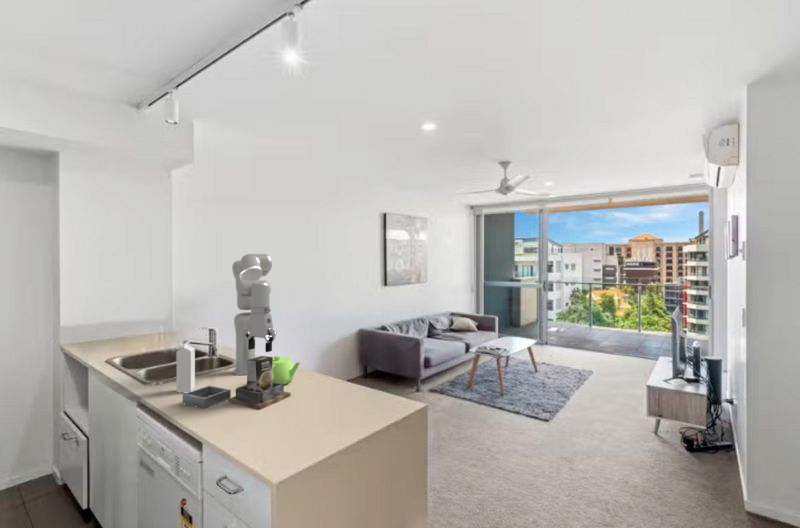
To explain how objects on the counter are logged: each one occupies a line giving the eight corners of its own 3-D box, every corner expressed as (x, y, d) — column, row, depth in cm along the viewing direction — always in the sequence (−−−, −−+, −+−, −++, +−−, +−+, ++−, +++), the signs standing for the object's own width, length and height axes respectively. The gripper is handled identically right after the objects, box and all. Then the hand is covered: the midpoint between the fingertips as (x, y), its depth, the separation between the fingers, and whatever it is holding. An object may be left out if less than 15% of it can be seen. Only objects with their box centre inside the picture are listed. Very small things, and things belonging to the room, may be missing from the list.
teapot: (306, 377, 207) (306, 352, 206) (292, 390, 187) (292, 362, 187) (271, 376, 208) (271, 351, 208) (253, 388, 188) (253, 360, 188)
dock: (259, 390, 186) (260, 378, 186) (290, 395, 178) (290, 383, 178) (228, 402, 170) (228, 389, 170) (260, 409, 162) (260, 395, 162)
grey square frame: (209, 394, 180) (209, 385, 180) (230, 399, 174) (230, 389, 174) (182, 403, 168) (182, 394, 168) (204, 409, 162) (204, 399, 162)
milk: (176, 393, 181) (176, 344, 180) (181, 389, 187) (180, 341, 186) (191, 392, 182) (190, 344, 182) (195, 388, 188) (194, 341, 188)
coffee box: (257, 400, 169) (257, 361, 169) (246, 397, 172) (246, 359, 171) (273, 393, 177) (273, 356, 177) (262, 391, 180) (262, 355, 180)
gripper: (281, 311, 174) (281, 350, 174) (251, 308, 181) (251, 346, 181) (269, 313, 167) (269, 354, 167) (238, 310, 174) (238, 349, 175)
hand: (260, 350), depth 174 cm, fingers open, 9 cm apart
